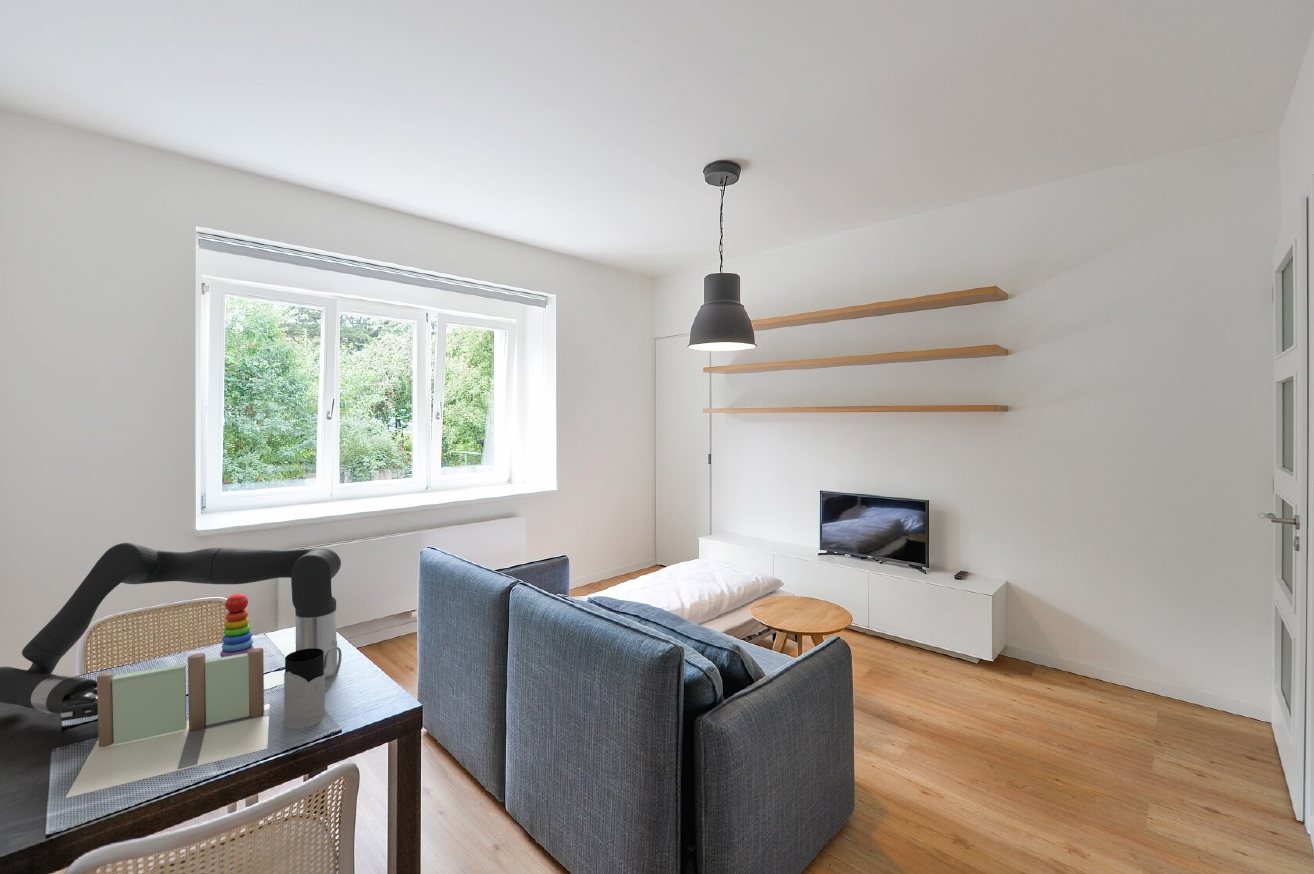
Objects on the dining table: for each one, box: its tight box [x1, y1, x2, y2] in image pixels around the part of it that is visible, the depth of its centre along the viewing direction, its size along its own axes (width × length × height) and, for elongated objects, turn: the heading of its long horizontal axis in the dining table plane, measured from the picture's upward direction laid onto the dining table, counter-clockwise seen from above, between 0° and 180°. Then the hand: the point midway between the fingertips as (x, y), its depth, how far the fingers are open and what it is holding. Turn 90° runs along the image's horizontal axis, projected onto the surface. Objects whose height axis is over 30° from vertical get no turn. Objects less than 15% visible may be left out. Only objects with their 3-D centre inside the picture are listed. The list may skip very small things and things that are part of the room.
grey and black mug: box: [282, 646, 343, 729], centre depth 134 cm, size 9×14×15 cm, turn 162°
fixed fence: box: [187, 647, 265, 731], centre depth 129 cm, size 14×3×16 cm, turn 123°
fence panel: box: [96, 663, 188, 747], centre depth 122 cm, size 14×2×15 cm, turn 122°
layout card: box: [65, 703, 271, 799], centre depth 121 cm, size 30×21×1 cm
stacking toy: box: [219, 593, 255, 658], centre depth 160 cm, size 8×8×19 cm
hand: (127, 705), depth 123 cm, fingers closed
